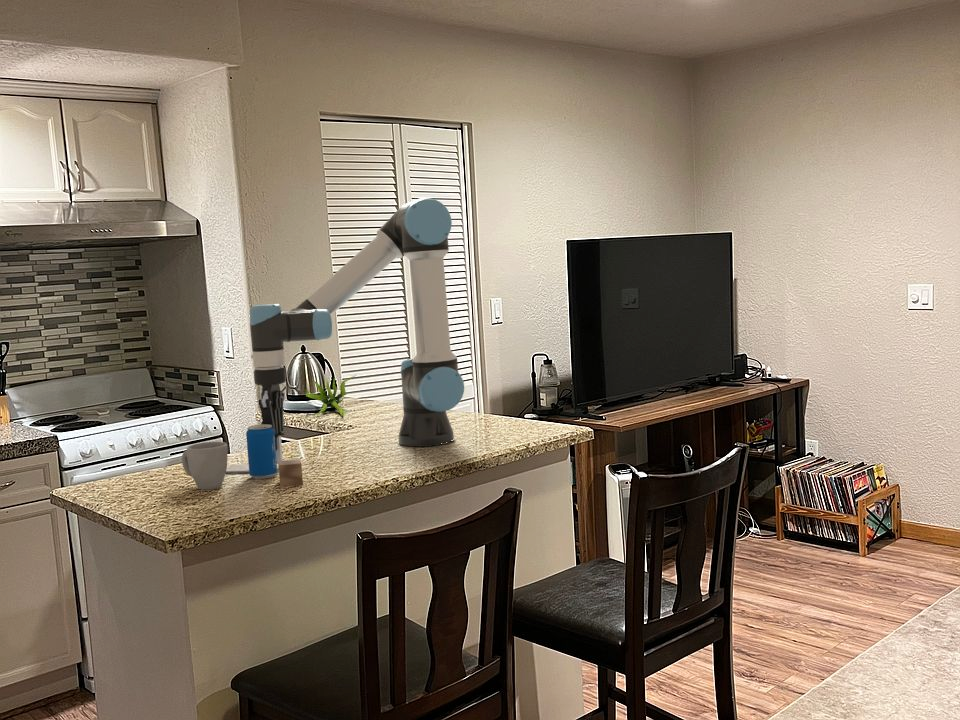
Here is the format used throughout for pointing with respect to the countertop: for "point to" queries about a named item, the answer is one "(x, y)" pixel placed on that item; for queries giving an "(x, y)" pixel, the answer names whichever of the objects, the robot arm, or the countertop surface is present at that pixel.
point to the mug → (206, 464)
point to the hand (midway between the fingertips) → (276, 462)
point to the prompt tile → (238, 469)
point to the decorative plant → (330, 396)
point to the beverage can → (261, 451)
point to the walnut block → (290, 472)
